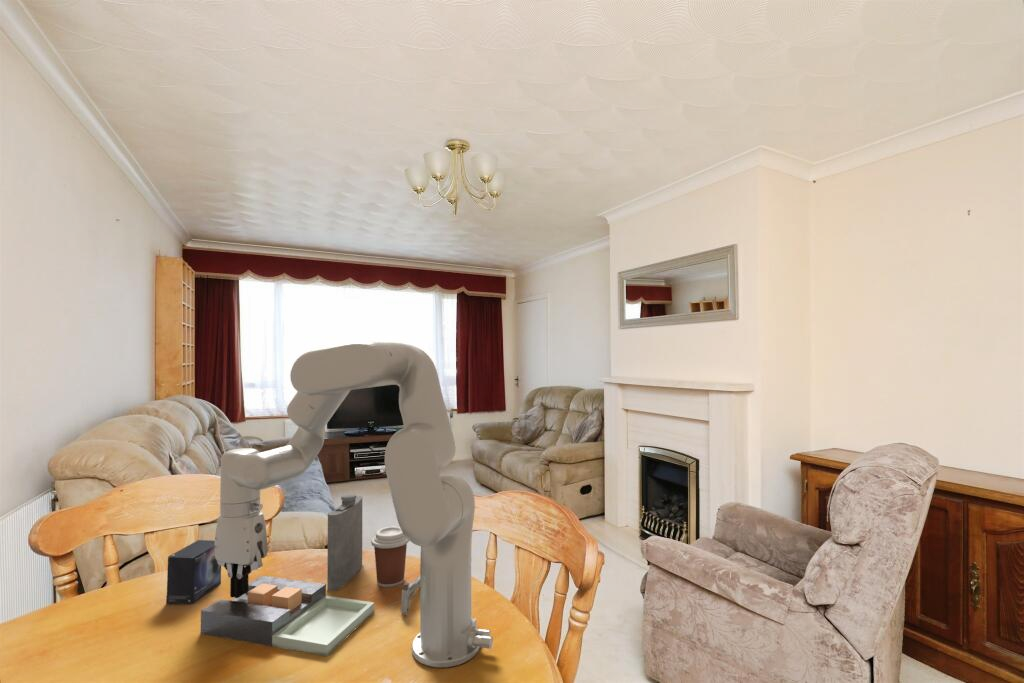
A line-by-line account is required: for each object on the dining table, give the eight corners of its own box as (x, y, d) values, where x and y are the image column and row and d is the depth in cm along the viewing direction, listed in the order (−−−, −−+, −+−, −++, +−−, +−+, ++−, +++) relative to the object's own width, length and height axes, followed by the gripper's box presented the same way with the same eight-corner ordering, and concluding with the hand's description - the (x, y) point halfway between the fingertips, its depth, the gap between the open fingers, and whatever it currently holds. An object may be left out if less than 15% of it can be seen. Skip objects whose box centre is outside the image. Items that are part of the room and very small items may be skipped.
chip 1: (277, 599, 104) (277, 585, 104) (263, 609, 100) (263, 594, 100) (262, 597, 105) (262, 583, 105) (247, 606, 101) (247, 592, 101)
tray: (374, 612, 104) (374, 602, 104) (327, 656, 89) (327, 645, 89) (325, 604, 108) (325, 595, 108) (272, 646, 92) (272, 635, 92)
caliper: (406, 617, 103) (406, 587, 103) (401, 617, 103) (401, 587, 103) (429, 574, 123) (429, 549, 123) (425, 574, 123) (425, 549, 123)
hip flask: (352, 562, 130) (352, 486, 131) (367, 562, 130) (367, 486, 131) (325, 590, 114) (325, 504, 115) (341, 591, 114) (342, 504, 115)
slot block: (325, 604, 108) (325, 584, 108) (272, 646, 92) (272, 622, 92) (262, 595, 112) (262, 575, 112) (200, 633, 97) (200, 610, 97)
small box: (193, 605, 108) (194, 557, 108) (164, 605, 108) (165, 557, 109) (223, 583, 119) (223, 539, 119) (196, 583, 119) (197, 539, 119)
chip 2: (301, 603, 102) (301, 588, 102) (288, 613, 98) (288, 597, 99) (285, 601, 103) (285, 586, 103) (271, 610, 99) (271, 595, 100)
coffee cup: (363, 587, 116) (364, 536, 116) (382, 571, 124) (382, 523, 125) (399, 591, 113) (399, 539, 114) (415, 574, 122) (415, 526, 123)
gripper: (282, 505, 106) (281, 590, 106) (226, 500, 110) (225, 582, 110) (255, 516, 99) (254, 608, 99) (197, 510, 103) (195, 598, 102)
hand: (239, 594), depth 104 cm, fingers closed
